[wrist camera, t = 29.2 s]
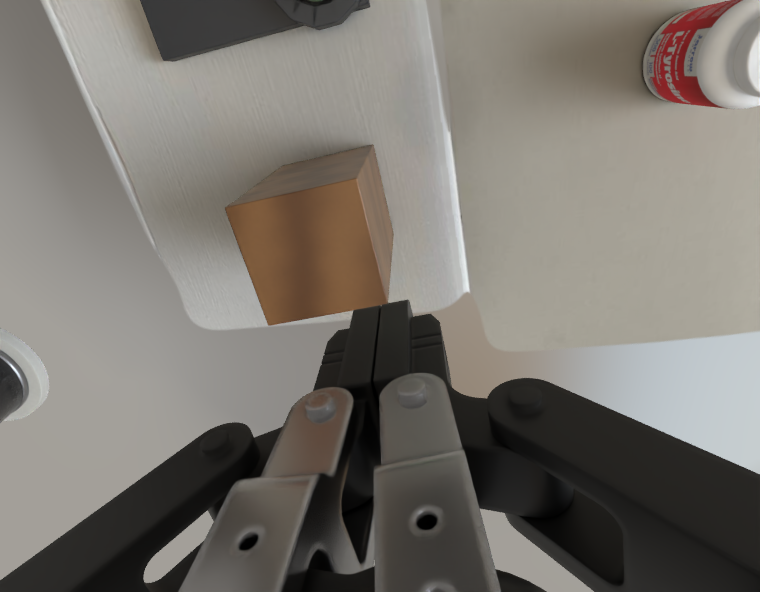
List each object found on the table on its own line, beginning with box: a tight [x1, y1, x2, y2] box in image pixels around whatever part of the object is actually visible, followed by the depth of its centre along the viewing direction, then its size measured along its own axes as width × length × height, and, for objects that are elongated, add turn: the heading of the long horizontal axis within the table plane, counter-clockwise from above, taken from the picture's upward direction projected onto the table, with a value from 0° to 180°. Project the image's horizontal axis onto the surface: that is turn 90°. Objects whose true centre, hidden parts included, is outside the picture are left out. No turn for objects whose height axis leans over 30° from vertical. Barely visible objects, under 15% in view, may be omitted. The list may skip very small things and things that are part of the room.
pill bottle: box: [643, 0, 760, 109], centre depth 30 cm, size 6×6×11 cm
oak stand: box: [225, 145, 394, 325], centre depth 34 cm, size 8×8×14 cm
